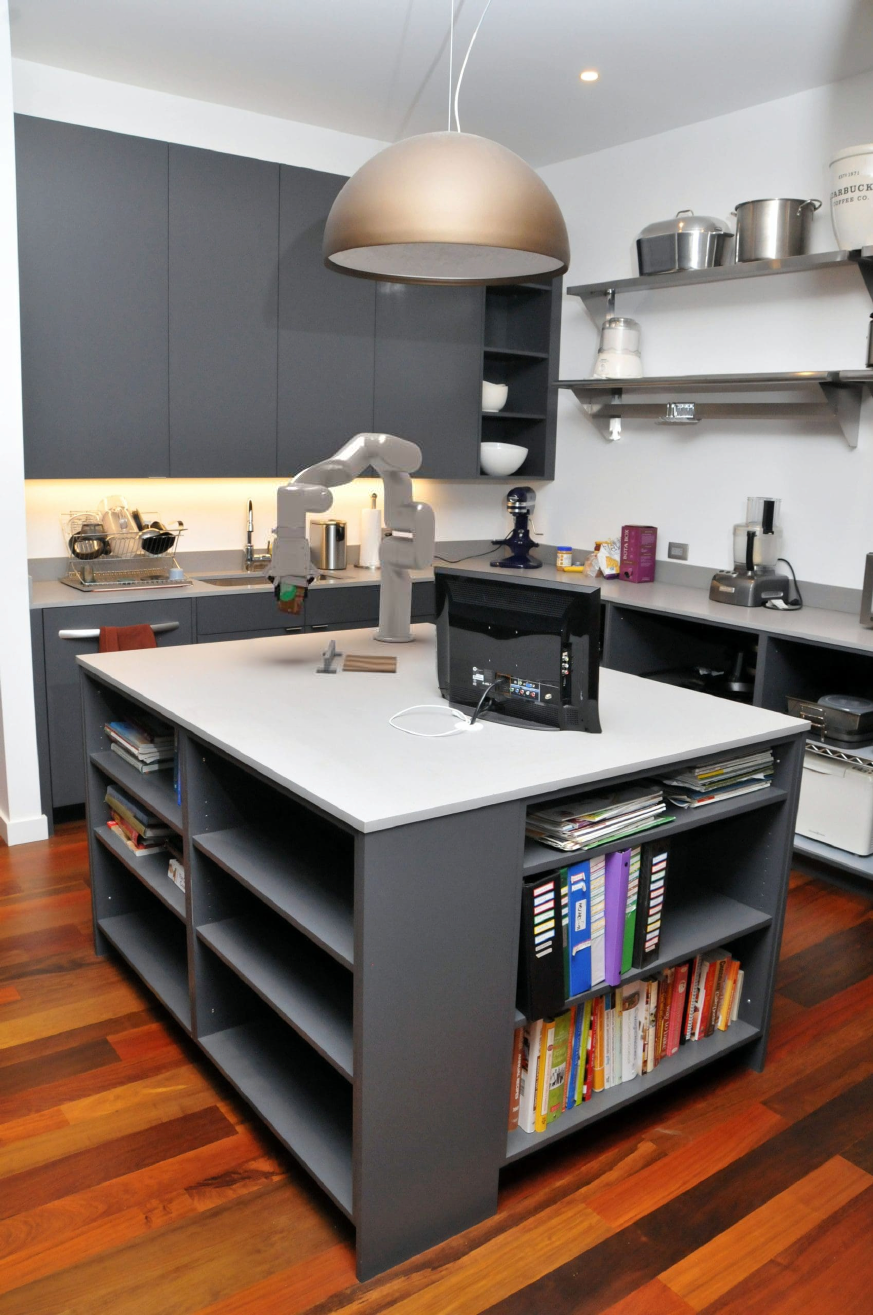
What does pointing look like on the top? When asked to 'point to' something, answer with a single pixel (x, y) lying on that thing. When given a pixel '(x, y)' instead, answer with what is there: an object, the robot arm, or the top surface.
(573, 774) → the top surface
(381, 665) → the walnut board
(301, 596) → the food container
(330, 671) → the grey footed rail
